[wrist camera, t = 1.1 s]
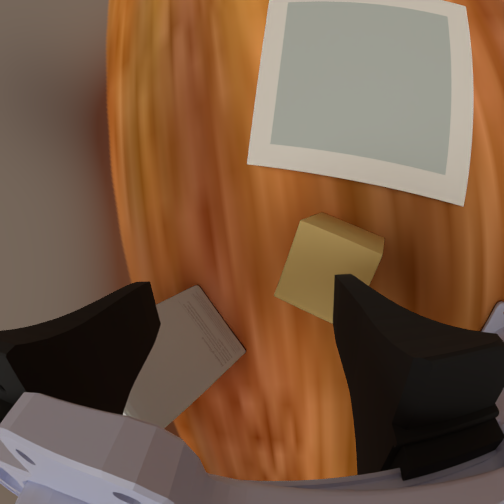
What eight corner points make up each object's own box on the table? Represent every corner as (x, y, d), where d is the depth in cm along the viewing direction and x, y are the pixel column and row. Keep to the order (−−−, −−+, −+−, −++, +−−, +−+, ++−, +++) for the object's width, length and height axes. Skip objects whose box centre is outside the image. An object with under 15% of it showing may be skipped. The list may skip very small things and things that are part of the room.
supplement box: (198, 281, 26) (77, 340, 15) (248, 351, 25) (151, 445, 14) (156, 317, 29) (54, 371, 18) (198, 377, 29) (110, 450, 18)
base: (461, 19, 12) (465, 6, 10) (456, 204, 16) (463, 206, 14) (280, 2, 18) (270, -11, 16) (259, 165, 21) (246, 164, 20)
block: (384, 238, 19) (382, 255, 14) (358, 298, 20) (347, 330, 16) (322, 212, 20) (300, 220, 16) (300, 272, 22) (273, 295, 17)
